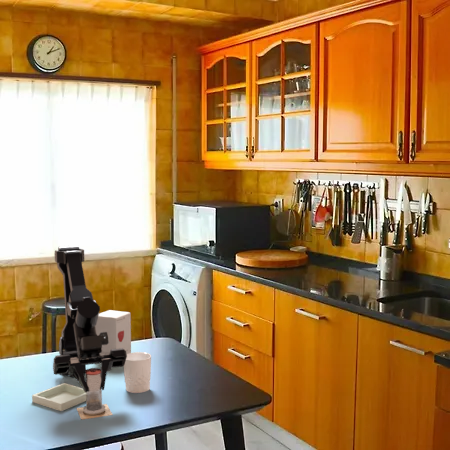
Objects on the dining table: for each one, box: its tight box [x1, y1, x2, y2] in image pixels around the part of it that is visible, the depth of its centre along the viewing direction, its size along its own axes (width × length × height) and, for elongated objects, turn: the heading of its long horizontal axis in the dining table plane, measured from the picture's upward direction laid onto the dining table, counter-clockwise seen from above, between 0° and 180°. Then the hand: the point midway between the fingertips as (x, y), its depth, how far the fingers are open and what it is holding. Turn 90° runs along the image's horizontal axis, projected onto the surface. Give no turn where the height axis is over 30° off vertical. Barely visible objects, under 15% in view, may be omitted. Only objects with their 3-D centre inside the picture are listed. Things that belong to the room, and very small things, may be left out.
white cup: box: [123, 351, 152, 394], centre depth 187 cm, size 8×8×10 cm
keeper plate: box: [76, 403, 113, 420], centre depth 171 cm, size 8×8×1 cm
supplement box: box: [95, 309, 132, 356], centre depth 217 cm, size 9×9×15 cm
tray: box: [31, 382, 86, 412], centre depth 179 cm, size 11×11×2 cm
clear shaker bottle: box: [83, 367, 105, 416], centre depth 170 cm, size 6×6×11 cm
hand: (94, 390), depth 169 cm, fingers closed on clear shaker bottle, 4 cm apart
